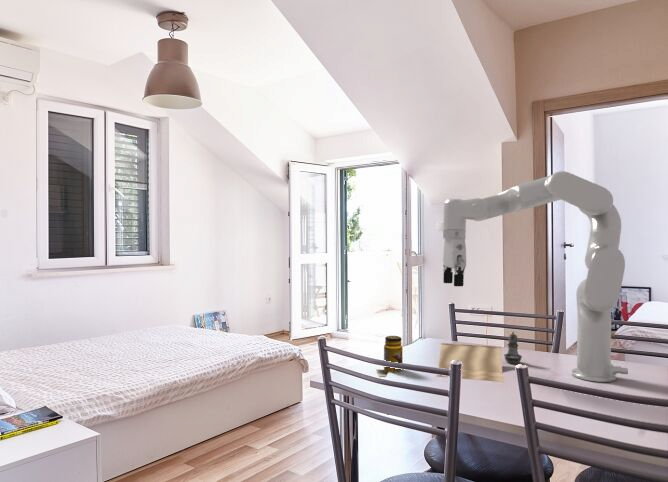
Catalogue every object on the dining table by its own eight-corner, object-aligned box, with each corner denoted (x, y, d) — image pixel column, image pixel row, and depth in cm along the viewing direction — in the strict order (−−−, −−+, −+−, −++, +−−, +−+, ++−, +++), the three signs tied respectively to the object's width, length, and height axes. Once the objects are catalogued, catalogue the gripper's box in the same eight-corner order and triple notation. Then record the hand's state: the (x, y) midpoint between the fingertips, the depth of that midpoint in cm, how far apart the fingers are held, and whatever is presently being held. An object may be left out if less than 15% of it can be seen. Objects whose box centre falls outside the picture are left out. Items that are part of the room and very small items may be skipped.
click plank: (501, 349, 168) (501, 346, 168) (502, 375, 159) (502, 372, 158) (441, 345, 174) (441, 342, 174) (438, 370, 164) (438, 367, 164)
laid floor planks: (502, 376, 158) (502, 372, 158) (503, 385, 148) (503, 381, 148) (438, 371, 163) (438, 367, 163) (436, 380, 154) (436, 376, 154)
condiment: (405, 376, 158) (405, 339, 158) (379, 376, 158) (379, 339, 157) (401, 370, 165) (401, 334, 165) (376, 370, 165) (376, 334, 165)
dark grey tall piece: (523, 365, 171) (523, 331, 171) (519, 369, 166) (520, 333, 166) (506, 363, 174) (506, 329, 174) (501, 366, 169) (502, 332, 169)
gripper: (475, 235, 162) (473, 287, 162) (455, 235, 179) (454, 282, 179) (453, 235, 161) (452, 287, 161) (435, 234, 178) (434, 282, 178)
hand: (453, 284), depth 170 cm, fingers open, 9 cm apart
